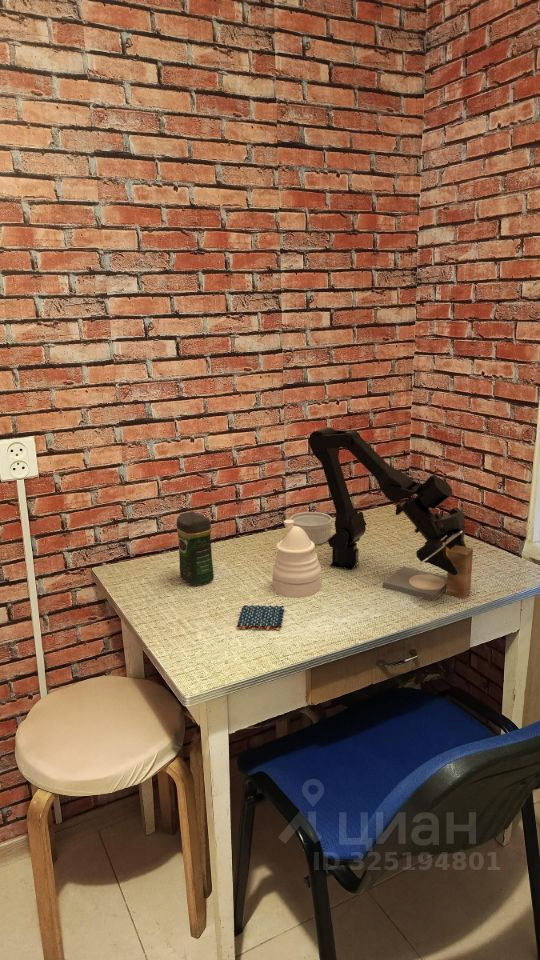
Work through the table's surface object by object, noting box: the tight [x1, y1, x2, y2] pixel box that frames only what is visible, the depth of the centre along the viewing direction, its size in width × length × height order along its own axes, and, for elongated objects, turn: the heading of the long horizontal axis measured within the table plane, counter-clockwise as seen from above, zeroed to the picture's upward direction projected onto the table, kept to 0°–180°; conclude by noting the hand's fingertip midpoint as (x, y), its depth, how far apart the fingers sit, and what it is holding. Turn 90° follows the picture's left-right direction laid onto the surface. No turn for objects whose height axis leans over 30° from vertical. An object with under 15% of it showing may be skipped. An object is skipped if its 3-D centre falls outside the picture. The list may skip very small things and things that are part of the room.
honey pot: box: [271, 519, 323, 598], centre depth 167 cm, size 13×13×18 cm
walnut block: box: [445, 545, 474, 600], centre depth 161 cm, size 4×4×12 cm
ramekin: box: [289, 511, 333, 546], centre depth 201 cm, size 13×13×7 cm
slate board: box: [382, 565, 447, 602], centre depth 168 cm, size 14×12×2 cm
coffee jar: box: [176, 510, 215, 586], centre depth 173 cm, size 10×8×19 cm
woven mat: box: [236, 604, 285, 632], centre depth 152 cm, size 10×11×2 cm
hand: (463, 567), depth 160 cm, fingers open, 9 cm apart
